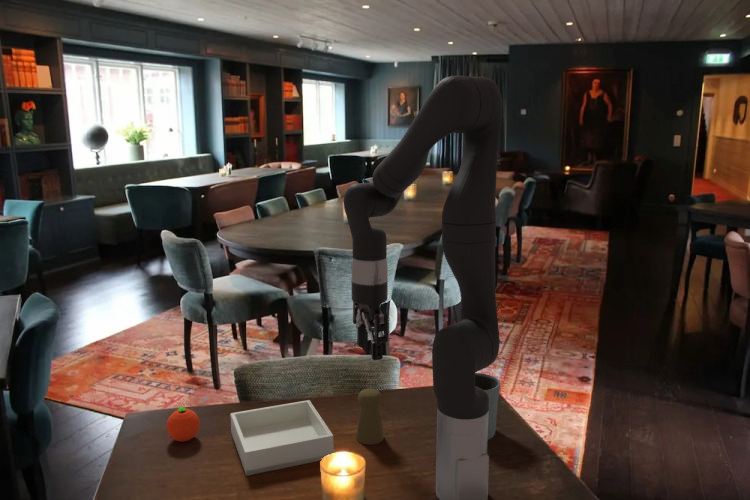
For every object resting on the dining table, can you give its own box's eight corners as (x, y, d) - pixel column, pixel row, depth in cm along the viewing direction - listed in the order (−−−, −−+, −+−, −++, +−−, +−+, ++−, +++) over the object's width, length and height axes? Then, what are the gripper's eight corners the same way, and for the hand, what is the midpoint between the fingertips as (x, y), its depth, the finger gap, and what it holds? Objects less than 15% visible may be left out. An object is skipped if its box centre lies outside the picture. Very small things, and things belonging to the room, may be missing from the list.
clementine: (165, 433, 140) (163, 403, 139) (197, 427, 143) (195, 398, 141) (169, 450, 133) (167, 419, 131) (202, 443, 136) (201, 413, 134)
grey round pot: (465, 445, 134) (466, 393, 132) (445, 424, 144) (446, 375, 141) (507, 438, 137) (509, 387, 135) (485, 417, 147) (486, 369, 144)
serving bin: (333, 457, 130) (333, 435, 129) (246, 475, 123) (245, 452, 122) (309, 419, 146) (309, 400, 145) (231, 434, 140) (230, 413, 139)
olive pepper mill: (380, 445, 134) (380, 398, 132) (353, 443, 136) (352, 395, 133) (386, 432, 140) (386, 386, 138) (359, 429, 141) (359, 384, 139)
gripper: (399, 285, 125) (399, 361, 129) (373, 269, 138) (373, 339, 142) (364, 289, 123) (365, 367, 126) (341, 272, 136) (342, 343, 139)
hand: (369, 352), depth 134 cm, fingers open, 8 cm apart
